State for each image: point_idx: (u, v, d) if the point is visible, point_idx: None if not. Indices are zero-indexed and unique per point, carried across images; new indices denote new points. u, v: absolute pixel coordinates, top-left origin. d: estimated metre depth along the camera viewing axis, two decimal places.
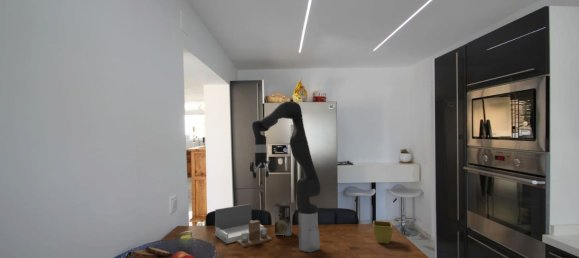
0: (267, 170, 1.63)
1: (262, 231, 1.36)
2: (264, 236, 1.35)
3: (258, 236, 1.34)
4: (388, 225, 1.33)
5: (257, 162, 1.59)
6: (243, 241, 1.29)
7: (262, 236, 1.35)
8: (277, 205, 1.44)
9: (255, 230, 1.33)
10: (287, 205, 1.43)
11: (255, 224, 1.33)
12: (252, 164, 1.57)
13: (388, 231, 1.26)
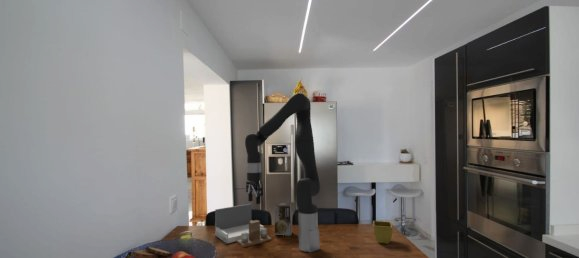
0: (252, 192, 1.39)
1: (262, 231, 1.36)
2: (264, 236, 1.35)
3: (258, 236, 1.34)
4: (388, 225, 1.33)
5: None
6: (243, 241, 1.29)
7: (262, 236, 1.35)
8: (277, 205, 1.44)
9: (255, 230, 1.33)
10: (287, 205, 1.43)
11: (255, 224, 1.33)
12: (262, 186, 1.31)
13: (388, 231, 1.26)
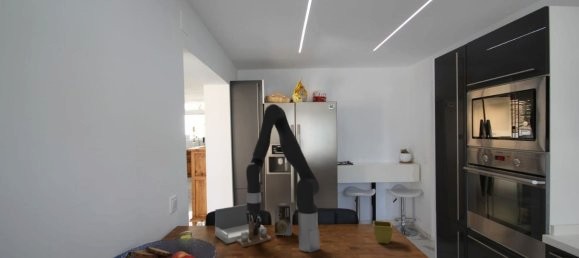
0: None
1: (262, 230, 1.36)
2: (264, 235, 1.36)
3: (258, 235, 1.34)
4: (388, 225, 1.33)
5: None
6: (243, 240, 1.29)
7: (262, 235, 1.36)
8: (277, 205, 1.44)
9: None
10: (287, 205, 1.43)
11: None
12: (261, 220, 1.31)
13: (388, 231, 1.26)
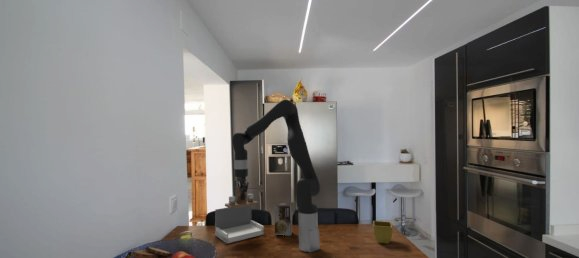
0: None
1: (249, 196, 1.45)
2: (251, 200, 1.45)
3: (245, 200, 1.43)
4: (388, 225, 1.33)
5: None
6: (230, 203, 1.38)
7: (249, 200, 1.45)
8: (277, 205, 1.44)
9: None
10: (287, 205, 1.43)
11: None
12: None
13: (388, 231, 1.26)
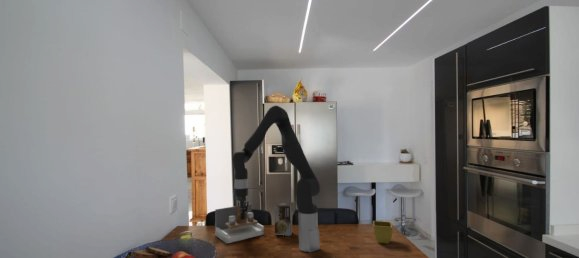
0: None
1: (249, 215, 1.44)
2: (251, 219, 1.44)
3: (245, 219, 1.42)
4: (388, 225, 1.33)
5: None
6: (230, 223, 1.38)
7: (249, 219, 1.44)
8: (277, 205, 1.44)
9: None
10: (287, 205, 1.43)
11: None
12: None
13: (388, 231, 1.26)
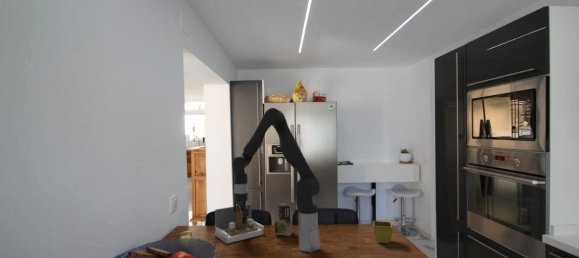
0: (240, 212, 1.46)
1: (249, 221, 1.44)
2: (251, 226, 1.44)
3: (245, 226, 1.42)
4: (388, 225, 1.33)
5: None
6: (230, 230, 1.37)
7: (249, 226, 1.44)
8: (277, 205, 1.44)
9: None
10: (287, 205, 1.43)
11: None
12: (248, 207, 1.38)
13: (388, 231, 1.26)
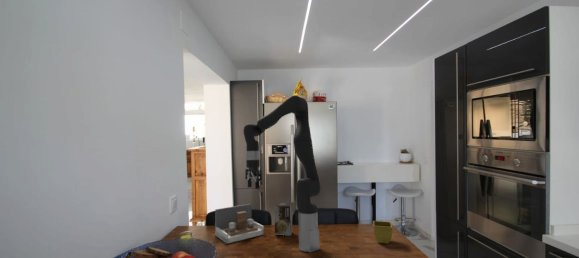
0: (251, 179, 1.49)
1: (249, 221, 1.44)
2: (251, 226, 1.44)
3: (245, 226, 1.42)
4: (388, 225, 1.33)
5: None
6: (230, 230, 1.37)
7: (249, 226, 1.44)
8: (277, 205, 1.44)
9: (242, 220, 1.41)
10: (287, 205, 1.43)
11: (242, 214, 1.41)
12: None
13: (388, 231, 1.26)
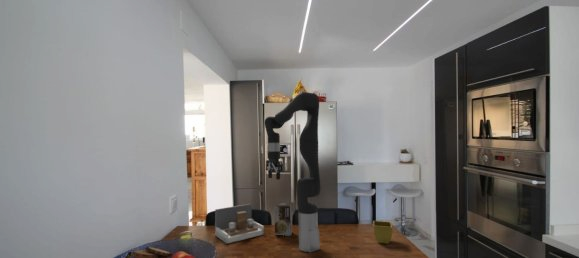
0: (271, 170, 1.54)
1: (249, 221, 1.44)
2: (251, 226, 1.44)
3: (245, 226, 1.42)
4: (388, 225, 1.33)
5: None
6: (230, 230, 1.37)
7: (249, 226, 1.44)
8: (277, 205, 1.44)
9: (242, 220, 1.41)
10: (287, 205, 1.43)
11: (242, 214, 1.41)
12: None
13: (388, 231, 1.26)
